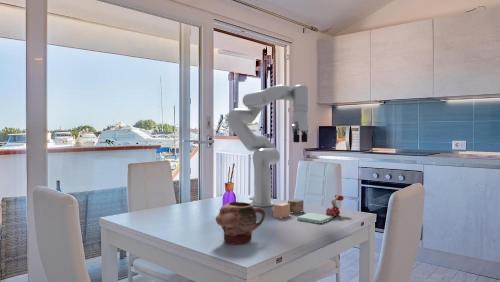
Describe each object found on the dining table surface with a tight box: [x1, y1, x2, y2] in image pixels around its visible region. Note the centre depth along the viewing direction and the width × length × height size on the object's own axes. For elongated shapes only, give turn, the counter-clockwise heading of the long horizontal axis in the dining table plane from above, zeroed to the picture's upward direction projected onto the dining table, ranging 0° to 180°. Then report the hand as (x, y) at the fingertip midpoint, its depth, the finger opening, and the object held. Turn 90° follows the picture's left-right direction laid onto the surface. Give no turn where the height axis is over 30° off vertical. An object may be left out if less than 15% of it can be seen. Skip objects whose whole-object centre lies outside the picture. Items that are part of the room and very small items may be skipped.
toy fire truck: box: [325, 194, 344, 218], centre depth 182 cm, size 3×14×10 cm, turn 143°
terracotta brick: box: [272, 202, 291, 219], centre depth 181 cm, size 5×7×6 cm
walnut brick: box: [287, 198, 304, 214], centre depth 191 cm, size 5×7×6 cm
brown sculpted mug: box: [215, 201, 266, 245], centre depth 139 cm, size 20×12×14 cm, turn 121°
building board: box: [296, 212, 334, 224], centre depth 174 cm, size 12×12×2 cm
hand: (300, 142), depth 193 cm, fingers open, 9 cm apart
